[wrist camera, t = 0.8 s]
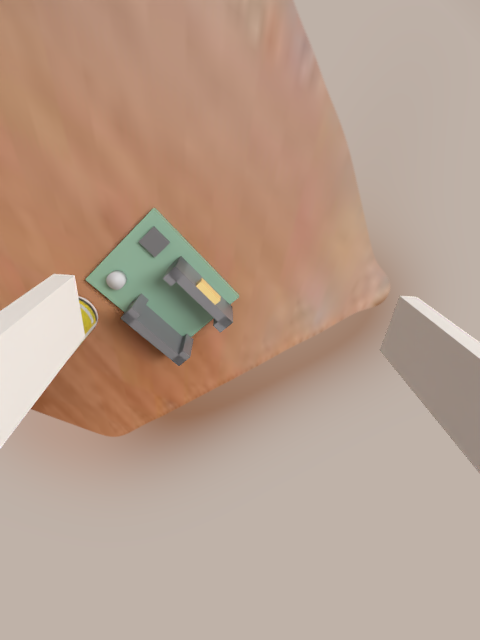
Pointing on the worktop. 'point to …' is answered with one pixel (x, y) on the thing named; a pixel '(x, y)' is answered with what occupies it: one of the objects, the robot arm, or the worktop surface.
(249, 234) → the worktop surface
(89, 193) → the worktop surface
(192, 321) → the board
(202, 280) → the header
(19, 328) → the robot arm
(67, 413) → the worktop surface
